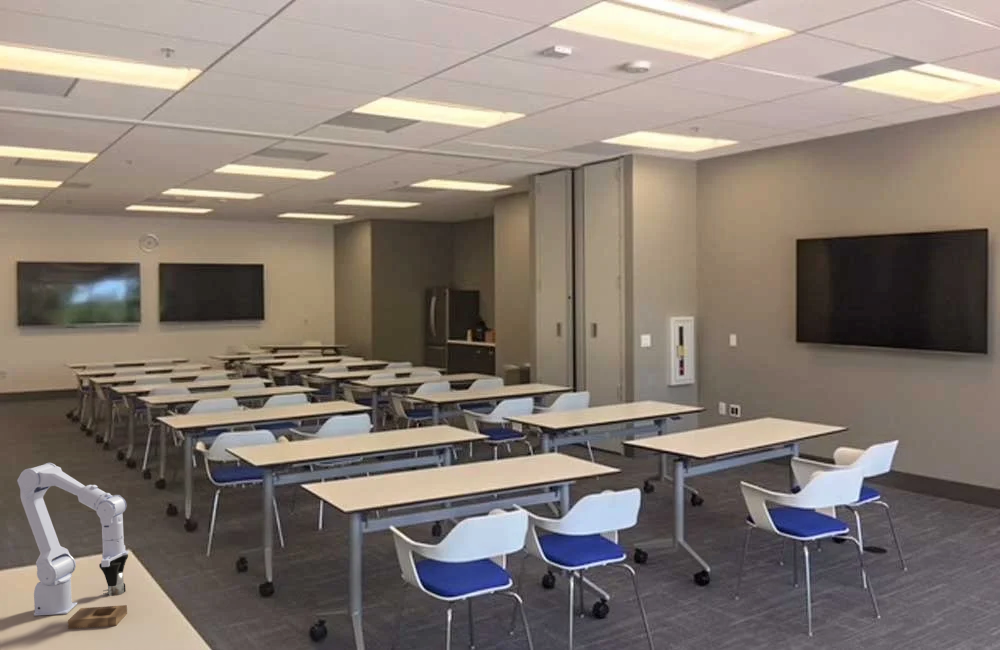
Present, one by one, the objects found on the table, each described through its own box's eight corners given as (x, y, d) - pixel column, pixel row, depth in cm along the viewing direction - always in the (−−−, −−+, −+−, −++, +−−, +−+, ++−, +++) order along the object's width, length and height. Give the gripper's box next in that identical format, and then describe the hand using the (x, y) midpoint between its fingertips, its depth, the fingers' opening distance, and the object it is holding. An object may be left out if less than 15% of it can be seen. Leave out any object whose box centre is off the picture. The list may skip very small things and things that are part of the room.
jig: (68, 628, 230) (67, 620, 230) (81, 616, 239) (80, 608, 239) (116, 625, 231) (115, 617, 231) (127, 613, 240) (126, 605, 240)
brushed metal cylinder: (107, 596, 239) (106, 576, 238) (111, 591, 243) (110, 571, 242) (121, 595, 239) (120, 575, 239) (125, 590, 243) (124, 570, 243)
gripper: (118, 544, 233) (120, 590, 234) (135, 530, 248) (136, 573, 248) (93, 546, 233) (95, 592, 233) (110, 531, 247) (112, 575, 247)
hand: (114, 583), depth 241 cm, fingers closed on brushed metal cylinder, 4 cm apart
